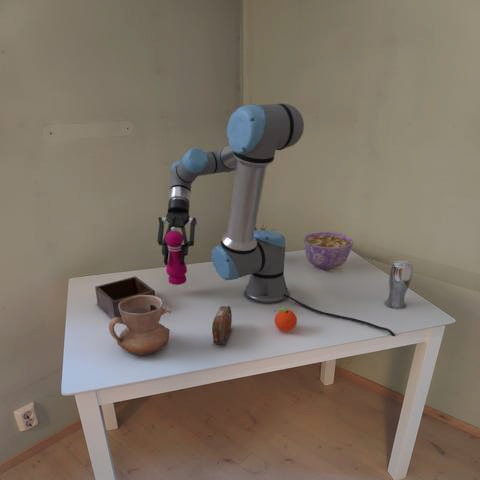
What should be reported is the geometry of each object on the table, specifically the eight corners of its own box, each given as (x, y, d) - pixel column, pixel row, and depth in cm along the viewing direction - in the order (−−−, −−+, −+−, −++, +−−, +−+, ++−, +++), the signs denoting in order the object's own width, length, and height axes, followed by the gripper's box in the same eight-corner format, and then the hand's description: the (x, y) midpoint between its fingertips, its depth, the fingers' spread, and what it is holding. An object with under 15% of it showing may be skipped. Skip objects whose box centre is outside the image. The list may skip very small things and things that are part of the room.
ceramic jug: (167, 329, 142) (163, 288, 135) (180, 352, 131) (176, 309, 124) (108, 341, 136) (101, 298, 129) (117, 366, 125) (109, 321, 118)
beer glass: (409, 304, 158) (417, 264, 151) (400, 311, 154) (408, 270, 146) (390, 298, 162) (397, 258, 155) (381, 304, 158) (388, 264, 151)
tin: (221, 350, 132) (221, 325, 128) (211, 349, 132) (210, 324, 128) (232, 325, 145) (232, 301, 141) (223, 324, 145) (222, 300, 141)
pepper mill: (179, 287, 158) (174, 231, 148) (163, 282, 161) (158, 227, 151) (191, 280, 163) (188, 225, 153) (176, 275, 166) (171, 222, 157)
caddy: (156, 308, 155) (155, 290, 151) (115, 321, 147) (112, 302, 144) (137, 293, 165) (135, 276, 162) (97, 304, 157) (94, 286, 154)
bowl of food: (310, 277, 178) (313, 249, 173) (295, 259, 195) (297, 233, 190) (358, 273, 182) (362, 246, 176) (338, 256, 199) (341, 230, 193)
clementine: (267, 329, 142) (267, 309, 139) (279, 321, 147) (280, 301, 144) (287, 338, 138) (289, 317, 134) (300, 329, 143) (302, 309, 139)
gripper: (205, 209, 164) (201, 268, 158) (156, 208, 165) (150, 267, 159) (203, 197, 157) (198, 259, 151) (151, 197, 158) (145, 258, 151)
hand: (173, 263), depth 155 cm, fingers closed on pepper mill, 5 cm apart
